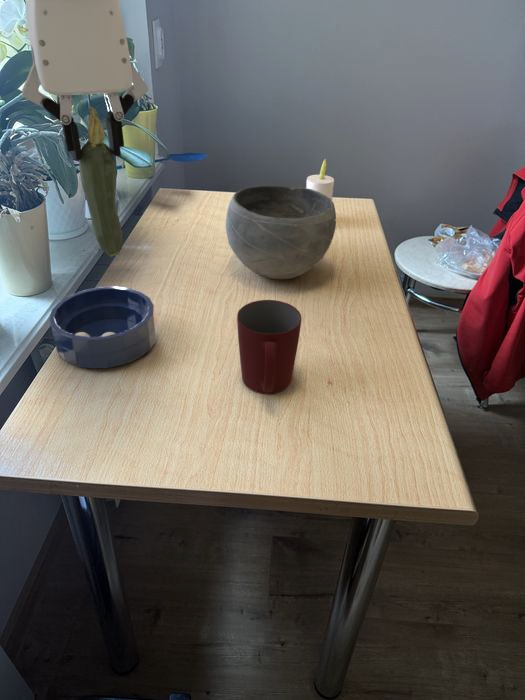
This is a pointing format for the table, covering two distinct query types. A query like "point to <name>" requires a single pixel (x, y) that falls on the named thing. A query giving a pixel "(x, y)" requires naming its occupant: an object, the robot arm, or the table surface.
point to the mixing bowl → (103, 326)
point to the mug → (268, 344)
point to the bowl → (280, 229)
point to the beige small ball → (82, 334)
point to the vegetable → (100, 187)
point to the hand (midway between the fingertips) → (96, 153)
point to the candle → (321, 182)
